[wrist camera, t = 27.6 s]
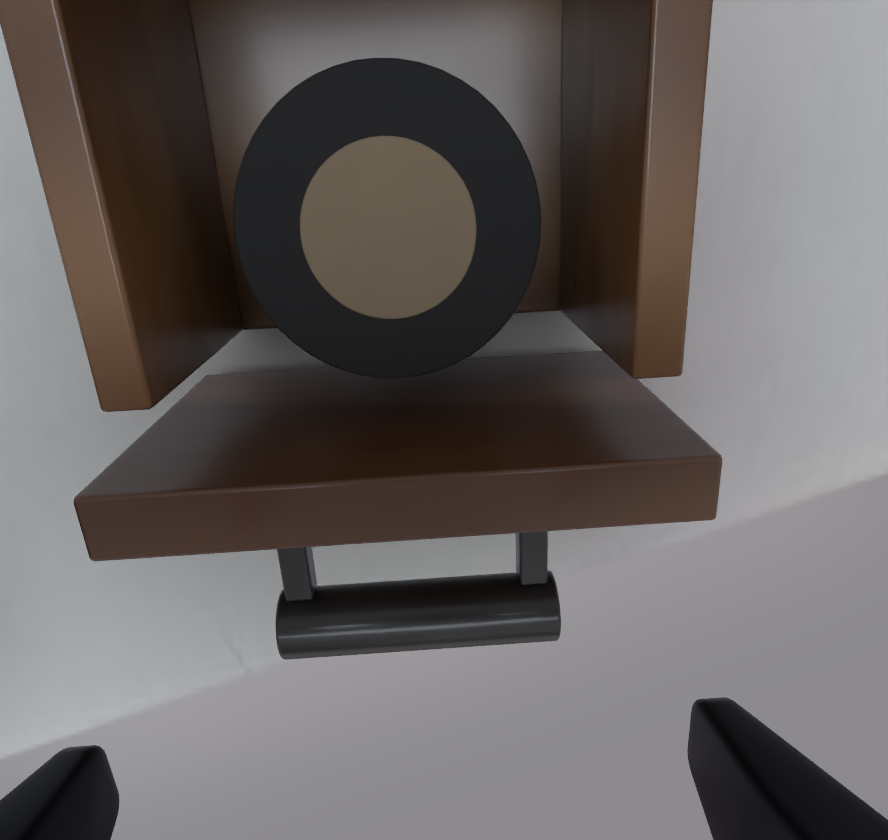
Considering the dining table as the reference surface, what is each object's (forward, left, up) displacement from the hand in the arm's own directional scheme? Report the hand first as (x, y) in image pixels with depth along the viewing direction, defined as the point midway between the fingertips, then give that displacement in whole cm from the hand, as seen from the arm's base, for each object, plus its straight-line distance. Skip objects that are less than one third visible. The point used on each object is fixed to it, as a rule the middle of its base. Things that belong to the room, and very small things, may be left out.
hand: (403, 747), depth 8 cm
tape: (+6, 0, -9) cm, 11 cm away
